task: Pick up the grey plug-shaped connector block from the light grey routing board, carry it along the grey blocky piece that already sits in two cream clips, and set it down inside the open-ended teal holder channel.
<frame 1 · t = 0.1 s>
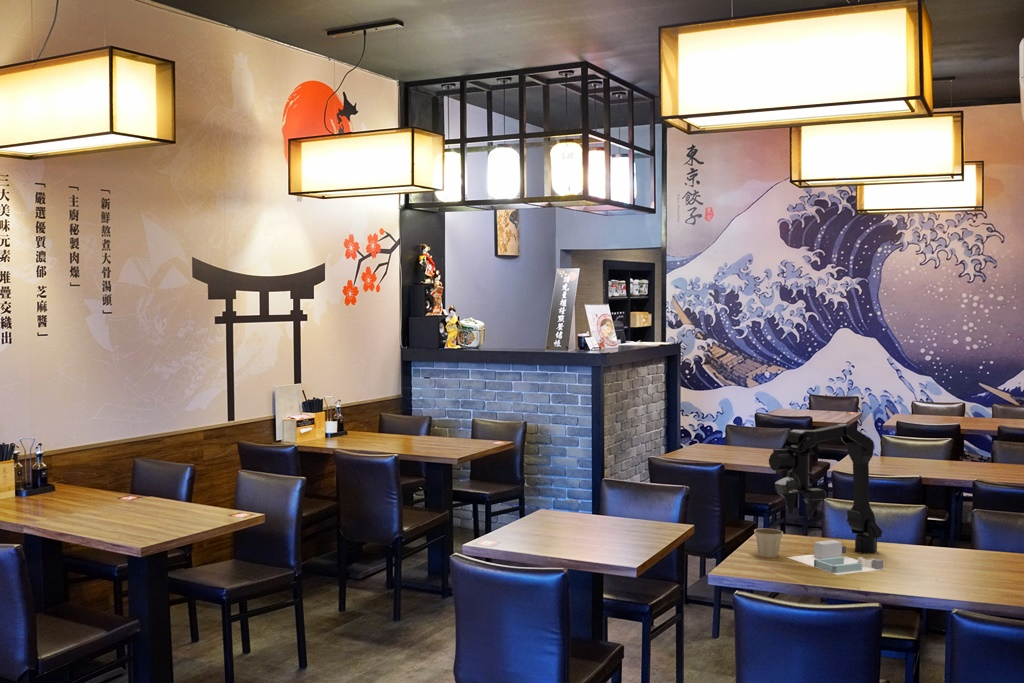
hand: (799, 516, 302), 14 cm above the table, tool pointing down, fingers open, 9 cm apart
grey blocky piece: (869, 562, 292), on the board, point 2 cm above the table
holder: (837, 567, 291), resting on board
flower pot: (768, 558, 308), on the table
clips: (866, 562, 294), on the board, point 1 cm above the table
board: (835, 565, 297), on the table
connector: (827, 557, 304), point 1 cm above the table, touching board
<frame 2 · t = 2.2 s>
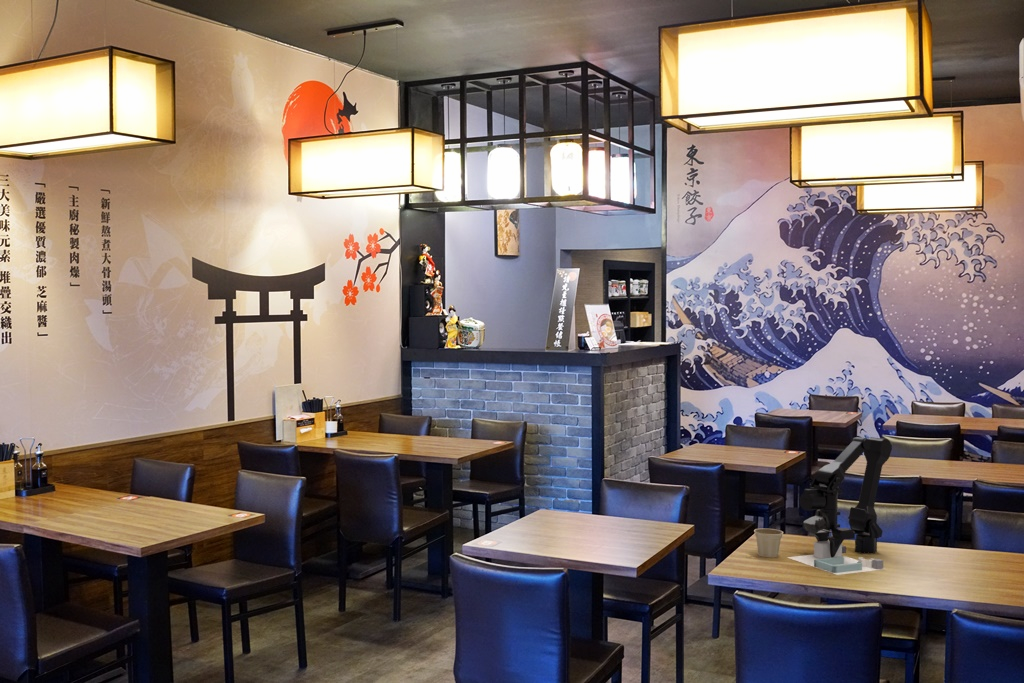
hand: (827, 555, 304), 1 cm above the table, tool pointing down, fingers closed on connector, 4 cm apart
connector: (827, 557, 304), point 1 cm above the table, touching board, gripper
everything else where it was.
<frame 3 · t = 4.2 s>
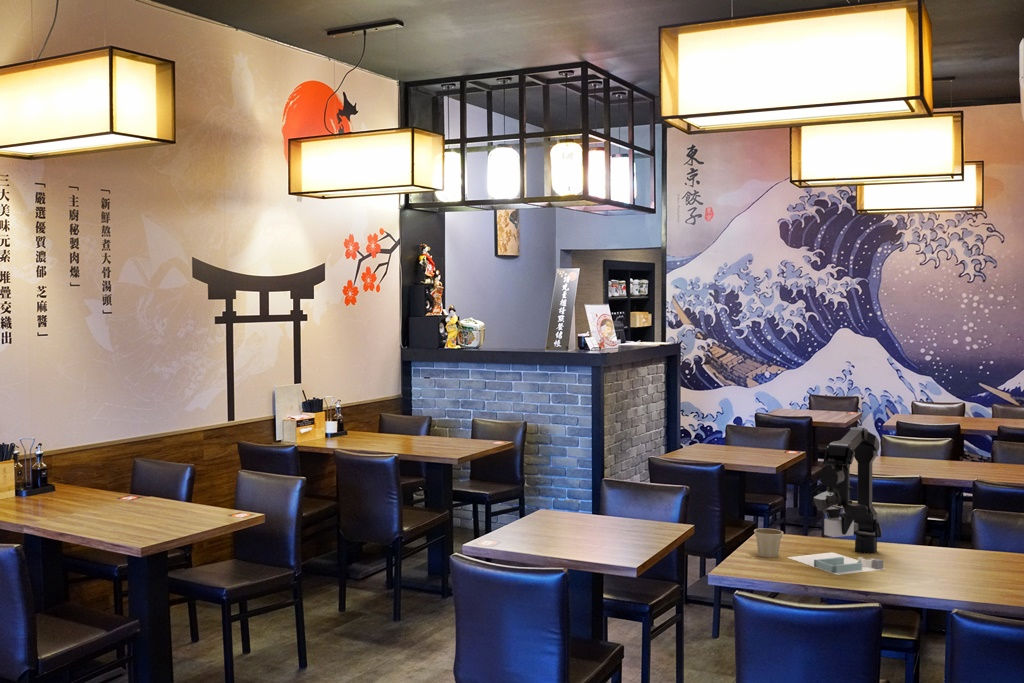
hand: (839, 533, 291), 12 cm above the table, tool pointing down, fingers closed on connector, 4 cm apart
connector: (838, 534, 291), point 11 cm above the table, touching gripper
everything else where it was.
when the fingers open (3 cm above the table, at t = 6.0 s): connector drops 2 cm, resting on board.
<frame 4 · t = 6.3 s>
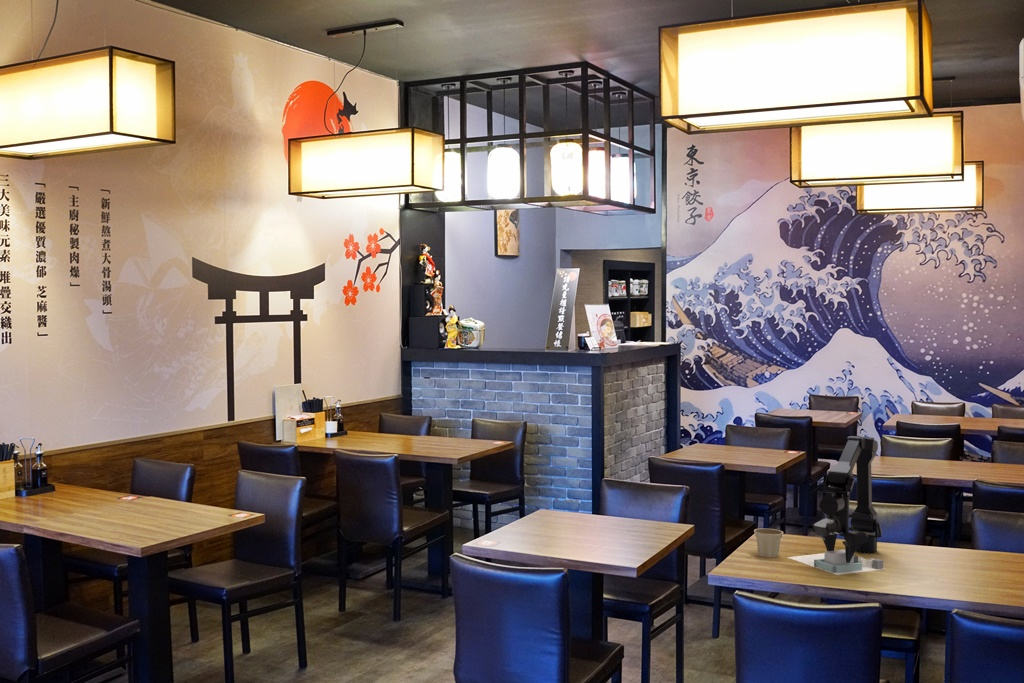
hand: (839, 559, 291), 3 cm above the table, tool pointing down, fingers open, 7 cm apart
connector: (839, 567, 291), point 1 cm above the table, touching board
everything else where it was.
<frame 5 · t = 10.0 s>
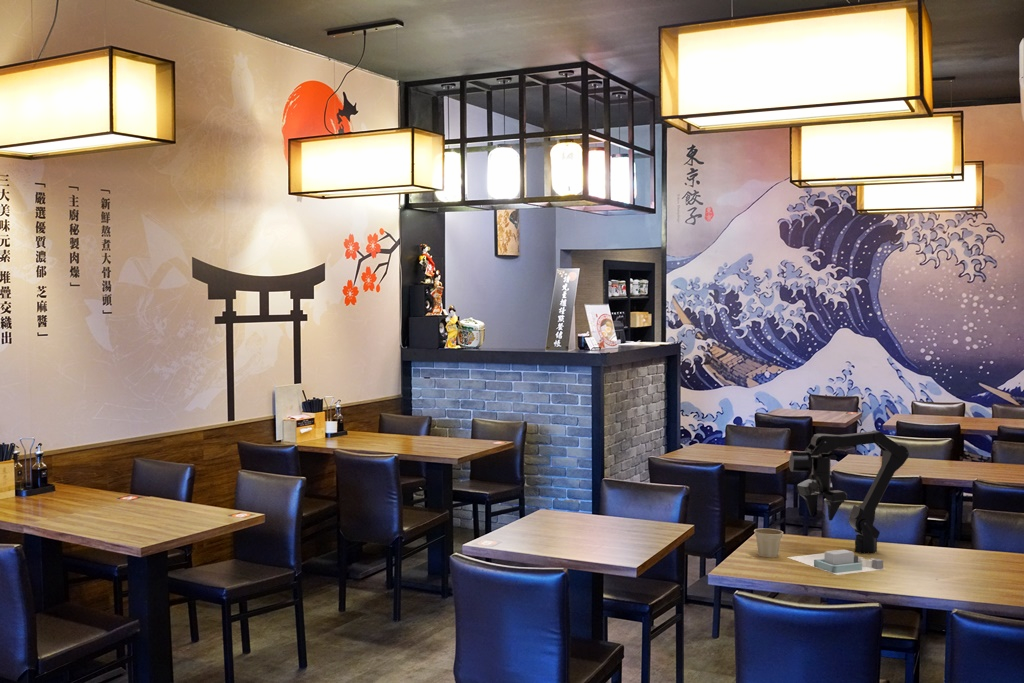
hand: (821, 517, 313), 12 cm above the table, tool pointing down, fingers open, 9 cm apart
nothing on the table moved.
at the end: connector 0.1 cm off-centre on the holder, point 0.0 cm above the holder's base; connector tilted 0°; the gripper is holding nothing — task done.
